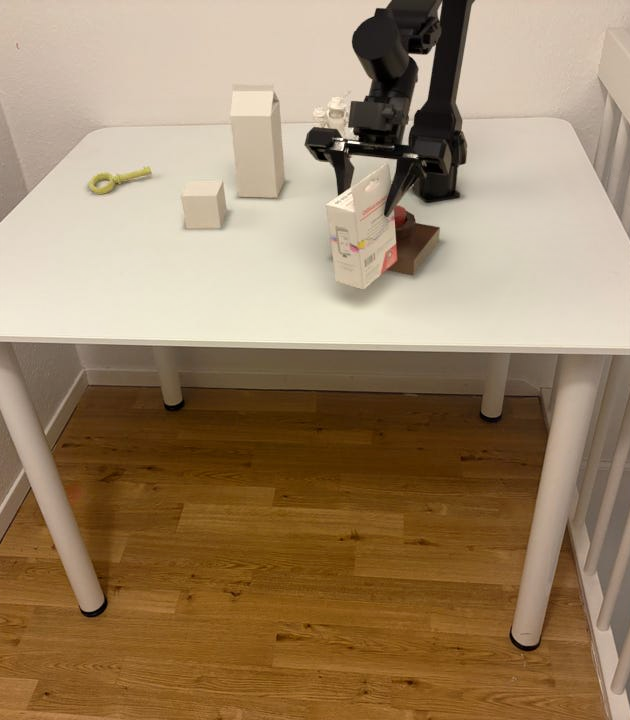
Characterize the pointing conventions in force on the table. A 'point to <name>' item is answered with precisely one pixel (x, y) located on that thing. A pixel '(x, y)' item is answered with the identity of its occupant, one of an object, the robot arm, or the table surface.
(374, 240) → the ink cartridge box
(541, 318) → the table surface
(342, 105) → the blocky character figurine
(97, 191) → the key
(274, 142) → the milk carton
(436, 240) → the switch box
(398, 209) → the switch button
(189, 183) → the cream cube
